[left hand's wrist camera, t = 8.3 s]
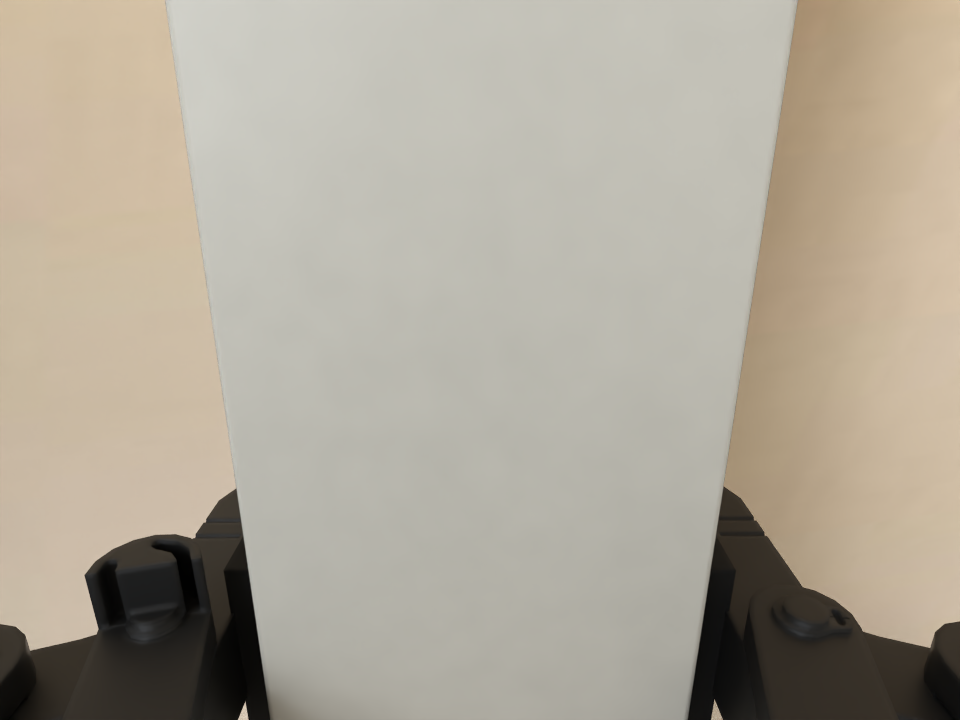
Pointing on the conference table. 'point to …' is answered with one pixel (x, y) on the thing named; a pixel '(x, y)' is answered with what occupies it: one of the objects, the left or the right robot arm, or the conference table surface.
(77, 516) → the conference table surface
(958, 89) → the conference table surface
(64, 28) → the conference table surface
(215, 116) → the bar
